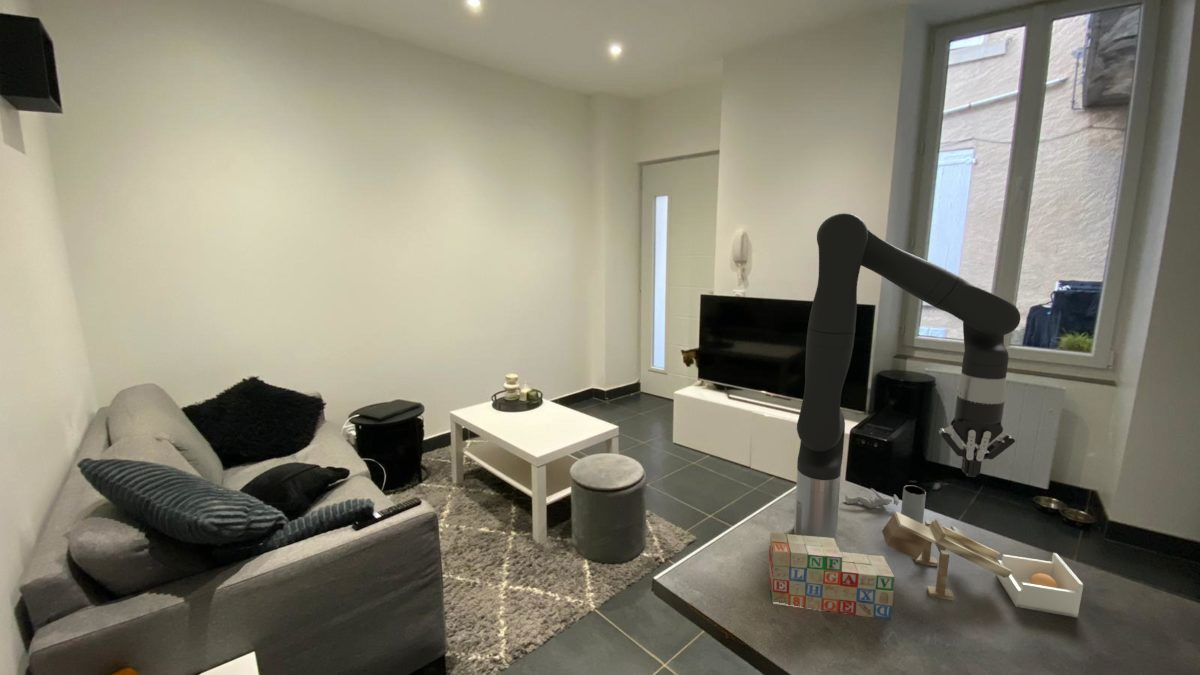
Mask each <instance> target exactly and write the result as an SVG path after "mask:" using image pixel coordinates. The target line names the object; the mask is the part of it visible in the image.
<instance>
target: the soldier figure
mask: <svg viewBox="0 0 1200 675" xmlns="http://www.w3.org/2000/svg"><path fill="white" fill-rule="evenodd" d="M870 490H871V491H872V492H873V493H875V497H873V496H871V495H870V496H868V498H870V499H868V498H866V497H864V496H862V495H857V496H854V497H849V496H848V495H847V493H845V494H844V496H845V497H844V499H845V502H846V504H847V505H850V504H856V503H860V504H862V505H863V506H865V507H867V508H869V509H873V508H877V507H878V506H888V505H889V504H891V503H893V505H895V506H896V507H897V506H898V505H899V502H900V499H899V497H898V496H897V495H896V494H895V493H894V494H893V496H892V497H891V498H890V497H888V496H882V495H881V494H879V493H878V492H877V491H876V490H875V489H874V488H872V487H871V488H870ZM892 498H893V499H892Z"/></svg>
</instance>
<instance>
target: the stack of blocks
mask: <svg viewBox="0 0 1200 675" xmlns="http://www.w3.org/2000/svg"><path fill="white" fill-rule="evenodd" d="M769 535H770V539H769V540H770V541H769V542H770V543H769V544H770V545H769V548H768V549H769V551H768V552H769V553H768V557H769V564H768V565H769V574H768V576H769V577H768V579H769V580H768V582H769V581H770V586H769V591H770V590H771V593H770V595H771V594H772V598H771V602H772V601H773V602H779V603H785V604H788V605H794V606H799V607H800V606H801V607H804V608H811V609H816V610H825V611H824V612H827V611H830V612H829V613H835V612H840V613H839V614H844V613H847V615H852V616H853V615H854V616H855V615H856V616H859V617H868V618H874V619H883V620H891V619H892V611H893V602H894V591H895V590H894V586H895V575H894V573H893V571H892V570H891V568H890V566H889V564H888V562H887V560H886V559H885V557H884V555H873V554H866V553H856V552H846V551H845V552H844V551H840V548H839V547H838V545H837V541H836V542H835V539H834V538H827V537H815V536H801V535H794V534H786V533H782V532H781V533H780V532H779V533H778V532H770V533H769Z"/></svg>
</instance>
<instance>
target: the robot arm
mask: <svg viewBox="0 0 1200 675" xmlns="http://www.w3.org/2000/svg"><path fill="white" fill-rule="evenodd" d="M816 243H817V246H818V276H817V278H818V279H817V286H816V291H815V294H814V297H813V300H812V303H811V304H812V305H811V309H810V313H809V317H808V318H809V320H808V326H807V332H806V333H807V334H806V345H805V347H806V348H805V364H804V365H805V366H804V378H805V380H804V381H805V382H804V391H803V398H802V403H801V406H800V412H799V416H798V419H797V423H796V432H797V436H798V438H799V440H800V445H799V450H798V456H797V464H796V466H797V467H796V491H795V496H794V520H793V529H794V532H793V535H801V536H815V537H827V538H834V539H835V542H836V543H837V535H838V523H839V522H838V520H839V507H840V506H839V505H840V502H839V501H840V490H841V472H842V464H843V463H842V462H843V457H844V447H845V446H844V445H845V431H846V421H845V416H844V415H843V412H842V411H841V398H842V392H843V388H844V385H845V381H846V378H847V374H848V371H849V368H850V364H851V359H852V356H853V350H854V344H855V334H856V326H857V325H856V323H857V312H858V310H857V309H858V308H857V307H858V303H857V302H858V300H857V299H858V296H857V292H858V283H859V282H858V280H859V275H860V271H861V266H862V267H863V268H866V269H867V270H870V271H872V272H873V273H876V274H878V275H879V276H881V277H883V278H885V279H886V280H887V281H889V282H891V283H893V284H894V285H896V287H899V288H900V289H901V290H903V291H905V292H906V293H909V294H910V295H912V296H914V297H915V298H917V299H920V300H921V301H923V302H924V303H927V304H928V305H930V306H932V307H934V308H936V309H938V310H941V311H943V312H946V313H949V314H950V315H952V316H954V317H955V318H957V319H959V320H960V321H962V330H963V343H964V344H963V346H964V353H963V356H962V357H963V358H962V365H961V372H960V373H961V374H960V377H959V380H958V385H957V388H956V402H955V409H954V417H953V420H952V421H951V422H950V425H949V426H947V427H944V428H943V427H939V428H938V429H937V431H938V433H939V434H940V435H941V438H942V439H943V440H944V441H945V442H946V443H947V444H948V446H949V447H950V448H951V450H953V452H954V453H955V454H956V456H958V457H961V459H962V460H961V466H960V467H961V470H962V472H963V473H964V474H965V475H966V477H972V478H976V477H977V475H980V473H981V471H982V470H981V469H982V462H983V460H984V461H985V460H994V459H995V458H997V456H1000V454H1002V453H1003V452H1004V451H1005V450H1007V449H1008V448H1010V447H1011V446H1012V445H1013V444H1014V443H1015V442H1016V439H1014V437H1013V436H1011V435H1010V434H1009V433H1006V432H1004V428H1003V425H1002V420H1003V413H1004V409H1005V408H1004V406H1005V402H1006V401H1005V399H1006V393H1007V372H1008V367H1009V357H1010V356H1009V351H1008V349H1007V348H1006V346H1005V335H1008V334H1011V333H1013V332H1014V331H1016V329H1017V328H1018V326H1019V325H1020V322H1021V313H1020V311H1019V309H1018V308H1017V306H1016V305H1015V304H1013V303H1012V302H1010V301H1009V300H1006V299H1005V298H1003V297H1000V296H998V295H996V294H994V293H992V292H989V291H987V290H985V289H982V288H980V287H978V286H976V285H973V284H972V283H970V282H969V281H967V280H965V279H964V278H962V277H960V276H959V275H957V274H955V273H953V272H951V271H949V270H947V269H945V268H944V267H941V266H940V265H937V264H935V263H933V262H931V261H929V260H927V259H924V258H922V257H919V256H917V255H915V254H912V253H910V252H907V251H905V250H903V249H901V248H898V247H896V246H895V245H893V244H891V243H889V242H887V241H886V240H884V239H882V238H881V237H879V236H877V235H876V234H875V233H874V232H872V231H871V230H869V229H868V227H867V225H866V223H865V221H864V220H863V219H862V218H861V217H859V216H858V215H855V214H852V213H847V212H845V213H838V214H834V215H832V216H829V217H828V218H826V219H825V220H824V221H823V222H822V223H821V225H820V226H819V228H818V230H817V233H816ZM954 432H955V434H956V435H957V436H958V437H959V439H960V440H961V444H962V448H961V447H959V445H958V444H957V443H956V442H955V440H953V438H954V437H955V434H954ZM994 440H995V441H994Z"/></svg>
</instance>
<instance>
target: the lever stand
mask: <svg viewBox="0 0 1200 675" xmlns="http://www.w3.org/2000/svg"><path fill="white" fill-rule="evenodd" d="M932 521H933V520H925V522H924V525H925V526H927V527H928V526H929V525H930V524H931V523H932ZM932 544H933V543H932V542H929V543H928V545H927V546H926V547H925V549H924V550H923V552H922V553H921V554H920V556H919V557H918V558H917V560H916V559H914V561H915V563H916V564H919V565H927V566H933V567H937V575H936V576H937V577H936V582H935V586H931V585H930V586H929V585H926V591H927V593H928V595H929V597H932V598H938V599H942V600H947V601H954V599H955V596H954V594H953V592H952V590H951V589H946V587H947V580H948V579H947V578H948V571H949V570H948V569H949V561H950V553H949V551H948V550H946V549H945V550H946V551H945V550H940V552H939V557H938V558H939V559H938V560H937V559H936V558H937V557H935V556H931V554H932V552H931V551H932Z"/></svg>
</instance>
